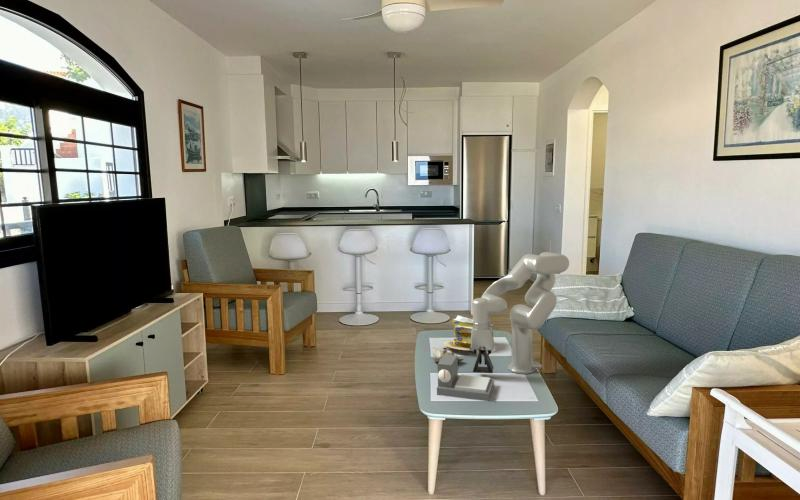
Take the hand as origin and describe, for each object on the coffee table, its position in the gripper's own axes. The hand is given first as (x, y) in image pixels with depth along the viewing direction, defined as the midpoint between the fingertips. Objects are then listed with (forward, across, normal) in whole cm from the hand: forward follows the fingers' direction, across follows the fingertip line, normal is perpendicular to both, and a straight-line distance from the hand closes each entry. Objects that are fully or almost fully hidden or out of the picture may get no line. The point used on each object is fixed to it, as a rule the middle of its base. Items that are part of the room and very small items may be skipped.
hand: (483, 363), depth 218 cm
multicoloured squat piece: (+8, +16, -36) cm, 40 cm away
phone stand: (+3, 0, 0) cm, 3 cm away
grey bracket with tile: (+6, +5, +16) cm, 18 cm away
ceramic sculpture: (+7, +21, -11) cm, 25 cm away
